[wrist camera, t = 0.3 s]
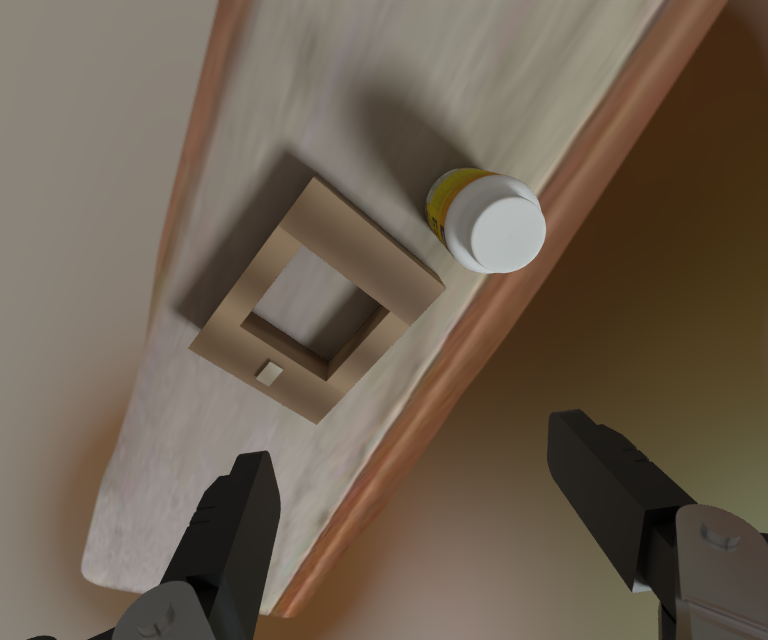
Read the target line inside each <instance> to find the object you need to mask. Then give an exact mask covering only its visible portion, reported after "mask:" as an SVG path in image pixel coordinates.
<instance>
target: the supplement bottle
mask: <svg viewBox="0 0 768 640" xmlns="http://www.w3.org/2000/svg"><path fill="white" fill-rule="evenodd" d="M425 214H426V219H427V222H428V225H429V227H430V229H431V230H432V231H433V233H434V234H435V235H436V236H437V238H438V239H439V240H440V241H441V243H442V244H443V245H444V246H445V247H446V249H447V250H448V251H449V252H450V253H451V255H452V256H453V257H454V258H455V259H456V260H457V261H458V262H459V263H460V264H461V265H463V266H464V267H466V268H468V269H470V270H472V271H475V272H480V273H496V272H498V273H507V272H512V271H515V270H518V269H520V268H522V267H524V266H526V265H527V264H528V263H529V262H531V261H532V260H533V259H534V258H535V256H536V255H537V254H538V252H539V251H540V249H541V247H542V245H543V242H544V239H545V233H546V225H545V220H544V217H543V214H542V212H541V208H540V204H539V202H538V199H537V197H536V195H535V194H534V192H533V191H532V190H531V189H530V188H529V187H528V186H527V185H526V184H525V183H523V182H522V181H520V180H518V179H516V178H513V177H510V176H506V175H501V174H497V173H493V172H489V171H484V170H480V169H475V168H469V167H462V168H456V169H453V170H451V171H448V172H447V173H445V174H443V175H442V176H441V177H440V178H439V179H438V180H437V181H436V182H435V183H434V184H433V186H432V187H431V189H430V191H429V193H428V196H427V199H426V205H425Z"/></svg>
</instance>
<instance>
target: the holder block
mask: <svg viewBox="0 0 768 640" xmlns="http://www.w3.org/2000/svg"><path fill="white" fill-rule="evenodd" d="M302 244H303V245H304V246H306V247H307V248H308V249H309V250H311V251H312V252H313V253H315V254H316V255H317V256H319V257H320V258H321V259H323V260H324V261H325V262H326V263H328V264H329V265H330V266H332V267H333V268H334V269H336V270H337V271H338V272H340V273H341V274H342V275H343V276H345V277H346V278H347V279H349V280H350V281H351V282H353V283H354V284H355V285H357V286H358V287H359V288H360V289H362V290H363V291H364V292H366V293H367V294H368V295H370V296H371V297H372V298H374V299H375V300H376V301H377V302H379V303H380V304H381V305H380V306H379V307H378V308H377V309H376V311H375V312H374V313H373V314H372V315H371V316H370V317H369V318H368V319H367V321H366V322H365V323H364V324H363V325H362V326H361V327H360V328H359V329H358V331H357V332H356V333H355V334H354V335H353V336H352V337H351V338H350V339H349V341H348V342H347V343H346V344H345V345H344V346H343V347H342V348H341V349H340V351H339V352H338V353H337V354H336V355H335V356H334V357H333V358H332V360H331V361H330V362H329V363H328V362H327V361H325V360H324V359H322V358H321V357H319V356H318V355H316V354H315V353H313V352H312V351H310V350H309V349H307V348H306V347H304V346H303V345H301V344H300V343H298V342H297V341H295V340H294V339H292V338H291V337H289V336H288V335H286V334H285V333H283V332H282V331H280V330H279V329H277V328H276V327H274V326H273V325H271V324H270V323H268V322H267V321H265V320H264V319H262V318H261V317H259V316H258V315H256V314H255V313H253V312H252V309H253V308H254V307H255V306H256V304H257V303H258V302H259V300H260V299H261V298H262V296H263V295H264V294H265V293H266V291H267V290H268V289H269V287H270V286H271V285H272V283H273V282H274V281H275V280H276V278H277V277H278V276H279V274H280V273H281V272H282V270H283V269H284V268H285V267H286V265H287V264H288V263H289V261H290V260H291V259H292V257H293V256H294V255H295V254H296V252H297V251H298V250H299V248H300V247H301V246H302ZM445 289H446V287H445V286H444V284H443V282H442V281H441V279H440V277H439V276H438V275H437V274H436V273H435V272H433V271H432V270H431V269H430V268H429V267H428V266H426V265H425V264H424V263H423V262H422V261H420V260H419V259H418V258H417V257H416V256H415V255H413V254H412V253H411V252H410V251H409V250H408V249H406V248H405V247H404V246H403V245H402V244H400V243H399V242H398V241H397V240H396V239H395V238H393V237H392V236H391V235H390V234H389V233H387V232H386V231H385V230H384V229H383V228H382V227H380V226H379V225H378V224H377V223H376V222H375V221H373V220H372V219H371V218H370V217H369V216H367V215H366V214H365V213H364V212H363V211H362V210H360V209H359V208H358V207H357V206H356V205H354V204H353V203H352V202H351V201H350V200H349V199H347V198H346V197H345V196H344V195H343V194H341V193H340V192H339V191H338V190H337V189H336V188H334V187H333V186H332V185H331V184H330V183H329V182H327V181H326V180H325V179H324V178H323V177H321V176H320V175H319V174H317V175H315V176H314V177H313V178H312V180H311V181H310V182H309V184H308V185H307V187H306V188H305V189H304V191H303V192H302V193H301V195H300V196H299V197H298V199H297V200H296V202H295V203H294V204H293V206H292V207H291V208H290V210H289V211H288V212H287V214H286V215H285V217H284V218H283V219H282V221H281V222H280V223H279V225H278V226H277V227H276V229H275V230H274V232H273V233H272V234H271V236H270V237H269V238H268V240H267V241H266V242H265V244H264V245H263V247H262V248H261V249H260V251H259V252H258V253H257V255H256V256H255V257H254V259H253V260H252V262H251V263H250V264H249V266H248V267H247V268H246V270H245V271H244V272H243V274H242V275H241V277H240V278H239V279H238V281H237V282H236V283H235V285H234V286H233V287H232V289H231V290H230V292H229V293H228V294H227V296H226V297H225V298H224V300H223V301H222V303H221V304H220V305H219V307H218V308H217V309H216V311H215V312H214V313H213V315H212V316H211V318H210V319H209V320H208V322H207V323H206V324H205V326H204V327H203V328H202V330H201V331H200V333H199V334H198V335H197V337H196V338H195V339H194V341H193V342H192V343H191V345H190V346H189V348H188V349H190V350H192V351H193V352H195V353H197V354H198V355H200V356H202V357H203V358H205V359H207V360H208V361H210V362H212V363H213V364H215V365H217V366H218V367H220V368H222V369H224V370H225V371H227V372H229V373H230V374H232V375H234V376H235V377H237V378H239V379H240V380H242V381H244V382H245V383H247V384H249V385H250V386H252V387H254V388H256V389H257V390H259V391H261V392H262V393H264V394H266V395H267V396H269V397H271V398H272V399H274V400H276V401H277V402H279V403H281V404H283V405H284V406H286V407H288V408H289V409H291V410H293V411H294V412H296V413H298V414H299V415H301V416H303V417H304V418H306V419H308V420H309V421H311V422H313V423H315V424H316V425H317V424H318V423H319V422H320V421H321V420H322V419H323V418H324V417H325V416H326V415H327V413H328V412H329V411H330V410H331V409H332V408H333V407H334V406H335V405H336V404H337V403H338V402H339V401H340V400H341V399H342V398H343V397H344V396H345V395H346V393H347V392H348V391H349V390H350V389H351V388H352V387H353V386H354V385H355V384H356V383H357V382H358V381H359V380H360V379H361V378H362V377H363V376H364V374H365V373H366V372H367V371H368V370H369V369H370V368H371V367H372V366H373V365H374V364H375V363H376V362H377V361H378V360H379V359H380V358H381V357H382V356H383V354H384V353H385V352H386V351H387V350H388V349H389V348H390V347H391V346H392V345H393V344H394V343H395V342H396V341H397V340H398V339H399V338H400V337H401V336H402V334H403V333H404V332H405V331H406V330H407V329H408V328H409V327H410V326H411V325H412V324H413V323H414V322H415V321H416V320H417V319H418V318H419V317H420V316H421V314H422V313H423V312H424V311H425V310H426V309H427V308H428V307H429V306H430V305H431V304H432V303H433V302H434V301H435V300H436V299H437V298H438V297H439V295H440V294H441V293H442V292H443V291H444V290H445Z"/></svg>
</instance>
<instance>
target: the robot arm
mask: <svg viewBox="0 0 768 640" xmlns="http://www.w3.org/2000/svg"><path fill="white" fill-rule="evenodd" d="M547 460H548V466H549V469H550V472H551V475H552V477H553V479H554V480H555V482H556V484H557V485H558V486H559V488H560V489H561V491H562V492H563V494H564V495H565V496H566V498H567V499H568V501H569V502H570V504H571V505H572V507H573V508H574V509H575V511H576V512H577V514H578V515H579V517H580V518H581V520H582V521H583V523H584V524H585V525H586V527H587V528H588V530H589V531H590V533H591V534H592V536H593V537H594V538H595V540H596V541H597V543H598V544H599V546H600V547H601V549H602V550H603V551H604V553H605V554H606V556H607V557H608V559H609V560H610V562H611V563H612V564H613V566H614V567H615V569H616V570H617V572H618V573H619V575H620V576H621V577H622V579H623V580H624V582H625V583H626V585H627V586H628V588H629V589H630V590H631V592H632V593H635V592H642V591H648V590H652V591H653V592H654V593H655V594H656V596H657V597H658V599H659V600H660V602H659V606H658V639H659V640H768V534H766V533H759V532H758V530H756V529H755V528H754V527H753V526H752V525H750V524H749V523H748V522H746V521H745V520H743V519H742V518H740V517H738V516H736V515H734V514H733V513H731V512H728V511H726V510H723V509H720V508H717V507H714V506H709V505H703V504H698V503H697V502H696V501H694V500H693V499H692V498H691V497H690V496H689V495H688V494H687V493H686V492H685V491H684V490H683V489H681V488H680V487H679V486H678V485H677V484H676V483H675V482H674V481H673V480H671V479H670V478H669V477H668V476H667V475H666V474H665V473H664V472H663V471H662V470H661V469H659V468H658V467H657V466H656V465H655V464H654V463H653V462H650V461H649V459H648V458H647V457H646V456H645V455H644V454H643V453H642V452H641V451H640V450H637V448H636V447H635V446H634V445H633V444H632V443H631V442H630V441H629V440H628V439H627V438H625V437H624V436H623V435H622V434H620V433H618V432H616V431H614V430H613V429H611V428H609V427H607V426H605V425H603V424H600V425H596V424H595V423H594V422H593V421H592V420H591V419H590V418H589V417H588V416H587V415H586V414H585V413H584V412H583V411H582V410H580V409H573V410H566V411H559V412H552V413H551V414H550V416H549V426H548V449H547ZM196 509H197V511H196V512H195V513H194V515H193V517H192V519H191V521H190V523H189V524H190V525H189V527H187V529H186V531H185V533H184V535H183V537H182V539H181V541H180V543H179V545H178V547H177V549H176V551H175V553H174V555H173V558H172V560H171V562H170V564H169V566H168V568H167V570H166V572H165V574H164V576H163V578H162V580H161V582H160V584H159V585H158V586H156V587H154V588H152V589H151V590H149V591H147V592H146V593H144V594H143V595H142V596H140V597H139V598H138V599H137V600H136V601H135V602H134V603H132V605H131V606H130V607H129V608H128V609H127V610H126V611H125V612H124V614H123V615H122V617H121V618H120V620H119V621H118V623H117V625H116V627H114V628H112V629H110V630H108V631H106V632H104V633H102V634H99V635H97V636H94V637H92V638H90V639H88V640H253V636H254V632H255V627H256V623H257V618H258V614H259V609H260V605H261V600H262V596H263V591H264V587H265V582H266V578H267V573H268V569H269V564H270V560H271V555H272V551H273V546H274V542H275V537H276V533H277V528H278V524H279V519H280V511H281V502H280V494H279V490H278V486H277V481H276V477H275V473H274V469H273V465H272V461H271V457H270V454H269V452H268V451H259V452H252V453H245V454H239V455H238V456H237V458H236V461H235V463H234V465H233V468H232V470H231V472H230V475H225V476H219V477H218V478H217V479H216V480H215V482H214V483H213V484H212V485H211V486H210V487H209V488H208V489H207V490H206V491H205V492H204V494H203V496H202V498H201V500H200V502H199V504H198V506H197V508H196ZM27 640H56V639H55V638H54V637H51V636H37V637H34V638H30V639H27Z"/></svg>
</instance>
